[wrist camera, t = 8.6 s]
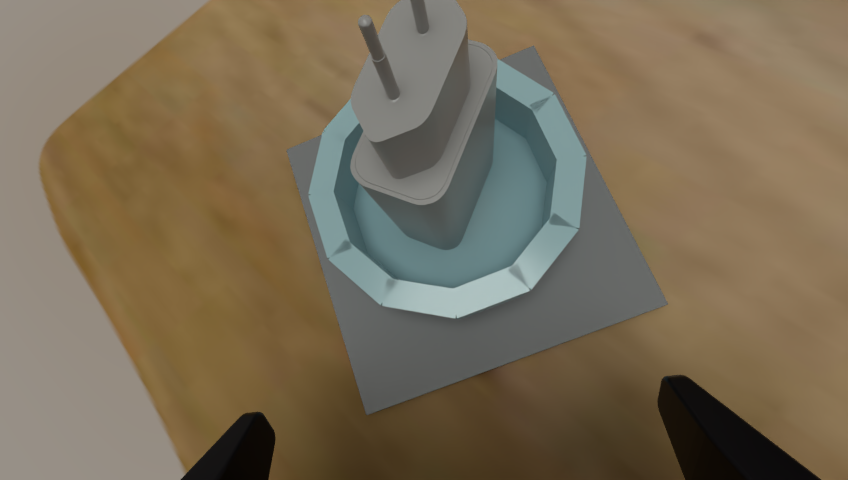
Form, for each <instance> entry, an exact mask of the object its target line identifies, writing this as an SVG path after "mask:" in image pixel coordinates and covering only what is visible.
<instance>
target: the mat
mask: <svg viewBox="0 0 848 480" xmlns="http://www.w3.org/2000/svg"><path fill="white" fill-rule="evenodd" d="M500 61H502V62H504V63H505V64H507V65H509V66H510V67H512V68H514V69H515V70H517V71H519V72H520V73H522V74H523V75H525V76H527V77H528V78H530V79H532V80H533V81H535V82H537V83H538V84H540V85H541V86H543V87H545V88H546V89H548V90H550V91H551V92H553V93H554V94H555V95H556V97H557V99H558V101H559V103H560V105H561V107H562V109H563V111H564V113H565V115H566V117H567V118H568V120H569V122H570V124H571V126H572V128H573V130H574V132H575V134H576V136H577V138H578V140H579V142H580V144H581V146H582V147H583V149H584V151H585V153H586V157H587V158H586V168H585V177H584V187H583V197H582V207H581V217H580V227H579V229H578V231H577V233H576V234H575V235H574V236H573V238H572V239H571V240H570V241H569V243H568V244H567V245H566V246H565V248H564V249H563V250H562V252H561V253H560V254H559V255H558V257H557V258H556V259H555V260H554V262H553V263H552V264H551V266H550V267H549V268H548V269H547V271H546V272H545V273H544V274H543V276H542V277H541V278H540V279H539V281H538V282H537V283H536V285H535V286H534V287H533V288H532V290H530V291H529V292H528V293H526V294H525V295H524V296H521V297H519V298H516V299H513V300H511V301H508V302H505V303H503V304H500V305H498V306H495V307H492V308H490V309H487V310H484V311H482V312H479V313H476V314H474V315H471V316H468V317H466V318H463V319H454V318H449V317H443V316H437V315H431V314H425V313H420V312H414V311H408V310H402V309H397V308H391V307H385V306H382V305H380V304H378V303H377V302H376V301H375V300H374V299H373V298H372V297H370V296H369V295H368V294H367V293H366V292H365V291H364V290H362V289H361V288H360V287H359V286H358V285H357V284H356V283H354V282H353V281H352V280H351V279H350V278H349V277H348V276H346V275H345V274H344V273H343V272H342V271H341V270H340V269H338V268H337V267H336V266H335V265H334V264H333V263H332V262H331V261H329V260H328V258H327V255H326V252H325V249H324V246H323V242H322V239H321V236H320V232H319V229H318V226H317V223H316V219H315V216H314V213H313V210H312V206H311V203H310V200H309V197H308V196H309V194H308V193H309V189H310V184H311V180H312V176H313V171H314V167H315V163H316V158H317V154H318V150H319V146H320V141H321V137H322V135H320V136H318V137H316V138H313V139H311V140H309V141H306V142H304V143H301V144H299V145H297V146H294V147H292V148H290V149H287V153H288V157H289V160H290V163H291V167H292V170H293V173H294V177H295V180H296V183H297V187H298V190H299V193H300V197H301V200H302V203H303V206H304V210H305V213H306V216H307V220H308V223H309V226H310V230H311V233H312V236H313V240H314V243H315V246H316V250H317V253H318V256H319V260H320V263H321V266H322V270H323V273H324V276H325V279H326V283H327V286H328V289H329V293H330V296H331V299H332V303H333V306H334V309H335V313H336V316H337V319H338V323H339V326H340V329H341V333H342V336H343V339H344V342H345V346H346V349H347V352H348V356H349V359H350V362H351V366H352V369H353V372H354V376H355V379H356V382H357V386H358V389H359V392H360V396H361V399H362V402H363V405H364V409H365V412H366V415H369V414H371V413H374V412H377V411H380V410H382V409H385V408H388V407H390V406H393V405H396V404H399V403H401V402H404V401H407V400H409V399H412V398H415V397H418V396H420V395H423V394H426V393H428V392H431V391H434V390H437V389H439V388H442V387H445V386H447V385H450V384H453V383H456V382H458V381H461V380H464V379H466V378H469V377H472V376H475V375H477V374H480V373H483V372H485V371H488V370H491V369H494V368H496V367H499V366H502V365H504V364H507V363H510V362H513V361H515V360H518V359H521V358H523V357H526V356H529V355H532V354H534V353H537V352H540V351H542V350H545V349H548V348H551V347H553V346H556V345H559V344H561V343H564V342H567V341H570V340H572V339H575V338H578V337H580V336H583V335H586V334H589V333H591V332H594V331H597V330H599V329H602V328H605V327H608V326H610V325H613V324H616V323H618V322H621V321H624V320H627V319H629V318H632V317H635V316H638V315H640V314H643V313H646V312H648V311H651V310H654V309H657V308H659V307H662V306H665V305H667V304H668V303H667V301H666V299H665V297H664V295H663V293H662V291H661V289H660V288H659V286H658V284H657V282H656V280H655V278H654V276H653V274H652V272H651V270H650V268H649V266H648V264H647V263H646V261H645V259H644V257H643V255H642V253H641V251H640V249H639V247H638V245H637V243H636V241H635V239H634V238H633V236H632V234H631V232H630V230H629V228H628V226H627V224H626V222H625V220H624V218H623V216H622V214H621V213H620V211H619V209H618V207H617V205H616V203H615V201H614V199H613V197H612V195H611V193H610V191H609V189H608V188H607V186H606V184H605V182H604V180H603V178H602V176H601V174H600V172H599V170H598V168H597V166H596V164H595V163H594V161H593V159H592V157H591V155H590V153H589V151H588V149H587V147H586V145H585V143H584V141H583V139H582V138H581V136H580V134H579V132H578V130H577V128H576V126H575V124H574V122H573V120H572V118H571V116H570V114H569V113H568V111H567V109H566V107H565V105H564V103H563V101H562V99H561V97H560V95H559V93H558V91H557V89H556V88H555V86H554V84H553V82H552V80H551V78H550V76H549V74H548V72H547V70H546V68H545V66H544V64H543V63H542V61H541V59H540V57H539V55H538V53H537V51H536V49H535V47H534V46H532V47H529V48H527V49H524V50H522V51H520V52H517V53H515V54H513V55H510V56H508V57H505V58H503V59H501V60H500ZM554 94H553V95H554Z"/></svg>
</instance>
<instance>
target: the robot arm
mask: <svg viewBox="0 0 848 480" xmlns="http://www.w3.org/2000/svg"><path fill="white" fill-rule="evenodd" d="M658 408H659V412H660V415H661V417H662V420H663V422H664V425H665V428H666V430H667V433H668V436H669V438H670V441H671V444H672V446H673V449H674V451H675V454H676V457H677V459H678V462H679V465H680V467H681V470H682V473H683V475H684V478H685V480H821V479H820V478H818V477H817V476H816V475H814V474H813V473H812V472H811V471H809V470H808V469H807V468H805V467H804V466H803V465H801V464H800V463H799V462H798V461H796V460H795V459H794V458H792V457H791V456H790V455H788V454H787V453H786V452H785V451H783V450H782V449H781V448H779V447H778V446H777V445H775V444H774V443H773V442H772V441H770V440H769V439H768V438H766V437H765V436H764V435H762V434H761V433H760V432H759V431H757V430H756V429H755V428H753V427H752V426H751V425H749V424H748V423H747V422H746V421H744V420H743V419H742V418H740V417H739V416H738V415H736V414H735V413H734V412H733V411H731V410H730V409H729V408H727V407H726V406H725V405H723V404H722V403H721V402H720V401H718V400H717V399H716V398H714V397H713V396H712V395H710V394H709V393H708V392H707V391H705V390H704V389H703V388H701V387H700V386H699V385H697V384H696V383H695V382H694V381H692V380H691V379H690V378H688V377H686V376H684V375H673V376H665V377H664V378H663V379H662V381H661V386H660V391H659V396H658ZM274 445H275V432H274V430H273V428H272V427H271V425H270V424H269V422H268V420H267V419H266V417H265V416H264V414H263V413H261V412H252V413H245V414H243V415H242V416H241V417H240V418H239V419H238V420H237V421H236V422H235V423H234V424H233V425H232V426H231V427H230V428H229V429H228V430H227V431H226V432H225V433H224V434H223V435H222V437H221V438H220V439H219V440H218V441H217V442H216V443H215V444H214V445H213V446H212V447H211V448H210V449H209V450H208V451H207V452H206V453H205V454H204V456H203V457H202V458H201V459H200V460H199V461H198V462H197V463H196V464H195V465H194V466H193V467H192V468H191V469H190V470H189V471H188V472H187V473H186V475H185V476H184V477H183V478H182V479H181V480H268V478H269V473H270V467H271V462H272V456H273V451H274Z"/></svg>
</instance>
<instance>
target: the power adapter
mask: <svg viewBox="0 0 848 480" xmlns="http://www.w3.org/2000/svg"><path fill="white" fill-rule="evenodd" d="M358 25H359V27H360V30H361V32H362V34H363V37H364V39H365V41H366V44H367V46H368V49H369V51H370V53H369V55H368V58H367V60H366V62H365V64H364V66H363V68H362V70H361V73H360V75H359V77H358V79H357V81H356V83H355V85H354V88H353V91H352V94H351V106H352V109H353V111H354V113H355V115H356V117H357V119H358V121H359V123H360V125H361V127H362V129H363V133H362V135H361V137H360V139H359V142H358V144H357V146H356V148H355V150H354V153H353V155H352V159H351V165H350V169H351V173H352V175H353V177H354V178H355V179H356V181H357V182H358V183H359V184H360V185H361V186H362V187H363V188H364V190H365V191H366V192H367V193H368V194H369V195H370V196H371V197H372V198H373V200H374V201H375V202H376V203H377V204H378V205H379V206H380V207H381V209H382V210H383V211H384V212H385V213H386V214H387V215H388V216H389V217H390V219H391V220H392V221H393V222H394V223H395V224H396V225H397V226H398V227H399V229H400V230H401V231H402V232H403V233H404V234H405V235H406V236H408V237H409V238H412V239H415V240H417V241H420V242H423V243H425V244H428V245H430V246H433V247H436V248H438V249H441V250H451V249H454V248H455V247H457V246H458V245H459V244H460V242H461V241H462V239H463V236H464V234H465V231H466V229H467V226H468V224H469V221H470V219H471V216H472V214H473V211H474V209H475V206H476V204H477V201H478V199H479V196H480V194H481V191H482V189H483V186H484V184H485V181H486V179H487V176H488V174H489V171H490V169H491V166H492V163H493V148H494V127H495V106H496V85H497V57H496V54H495V53H494V51H493V50H492V49H491V48H490V47H488V46H487V45H485V44H483V43H480V42H476V41H472V40H468V33H467V19H466V16H465V14H464V12H463V11H462V9H461V8H460V6H459V5H458V3H457V1H456V0H401V1H399V2H398V3H396V4H395V6H394V7H393V8H392V9H391V10H390V12H389V13H388V15H387V17H386V19H385V21H384V23H383V25H382V27H381V30H380V32H379V34H378V35H377V32H376V30H375V27H374V24H373V22H372V19H371V17H370V16H368V15H363V16H361V17H360V18H359V20H358Z"/></svg>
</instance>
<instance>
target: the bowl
mask: <svg viewBox="0 0 848 480" xmlns="http://www.w3.org/2000/svg"><path fill="white" fill-rule="evenodd" d="M553 94H554V93H553V92H551V91H550V90H548V89H546V88H545V87H543V86H541V85H540V84H538V83H537V82H535V81H533V80H532V79H530V78H528V77H527V76H525V75H523V74H522V73H520V72H519V71H517V70H515V69H514V68H512V67H510V66H509V65H507V64H505V63H504V62H502V61H500V60H499V59H497V85H496V106H495V127H494V148H493V163H492V166H491V169H490V171H489V174H488V176H487V179H486V181H485V184H484V186H483V189H482V191H481V194H480V196H479V199H478V201H477V204H476V206H475V209H474V211H473V214H472V216H471V219H470V221H469V224H468V226H467V229H466V231H465V234H464V236H463V239H462V241H461V242H460V244H459V245H458V246H457V247H455V248H454V249H451V250H441V249H438V248H436V247H433V246H430V245H428V244H425V243H423V242H420V241H417V240H415V239H412V238H409V237H408V236H406V235H405V234H404V233H403V232H402V231H401V230H400V229H399V227H398V226H397V225H396V224H395V223H394V222H393V221H392V220H391V219H390V217H389V216H388V215H387V214H386V213H385V212H384V211H383V210H382V209H381V207H380V206H379V205H378V204H377V203H376V202H375V201H374V200H373V198H372V197H371V196H370V195H369V194H368V193H367V192H366V191H365V190H364V188H363V187H362V186H361V185H360V184H359V183H358V182H357V181H356V179H355V178H354V177H353V175H352V173H351V169H350V165H351V159H352V155H353V153H354V150H355V148H356V146H357V144H358V142H359V139H360V137H361V135H362V133H363V129H362V127H361V125H360V123H359V121H358V119H357V117H356V115H355V113H354V111H353V109H352V106H351V99H350V100H349V101H348V102H347V104H346V105H345V106H344V107H343V108H342V109H341V111H340V112H339V113H338V114H337V115H336V116H335V118H334V119H333V120H332V121H331V122H330V123H329V125H328V126H327V127H326V128H325V129H324V132H323V133H322V137H321V141H320V146H319V150H318V154H317V158H316V163H315V167H314V171H313V176H312V180H311V184H310V189H309V193H308V194H309V196H308V197H309V200H310V203H311V206H312V210H313V213H314V216H315V219H316V223H317V226H318V229H319V232H320V236H321V239H322V242H323V246H324V249H325V252H326V255H327V258H328V260H329V261H331V262H332V263H333V264H334V265H335V266H336V267H337V268H338V269H340V270H341V271H342V272H343V273H344V274H345V275H346V276H348V277H349V278H350V279H351V280H352V281H353V282H354V283H356V284H357V285H358V286H359V287H360V288H361V289H362V290H364V291H365V292H366V293H367V294H368V295H369V296H370V297H372V298H373V299H374V300H375V301H376V302H377V303H378V304H380V305H382V306H385V307H391V308H397V309H402V310H408V311H414V312H420V313H425V314H431V315H437V316H443V317H449V318H454V319H463V318H466V317H468V316H471V315H474V314H476V313H479V312H482V311H484V310H487V309H490V308H492V307H495V306H498V305H500V304H503V303H505V302H508V301H511V300H513V299H516V298H519V297H521V296H524V295H525V294H526V293H528V292H529V291H530V290H532V288H533V287H534V286H535V285H536V283H537V282H538V281H539V279H540V278H541V277H542V276H543V274H544V273H545V272H546V271H547V269H548V268H549V267H550V266H551V264H552V263H553V262H554V260H555V259H556V258H557V257H558V255H559V254H560V253H561V252H562V250H563V249H564V248H565V246H566V245H567V244H568V243H569V241H570V240H571V239H572V238H573V236H574V235H575V234H576V233H577V231H578V229H579V227H580V217H581V207H582V197H583V187H584V177H585V168H586V158H587V157H586V153H585V151H584V149H583V147H582V146H581V144H580V142H579V140H578V138H577V136H576V134H575V132H574V130H573V128H572V126H571V124H570V122H569V120H568V118H567V117H566V115H565V113H564V111H563V109H562V107H561V105H560V103H559V101H558V99H557V97H556V95H555V94H554V95H553Z"/></svg>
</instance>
